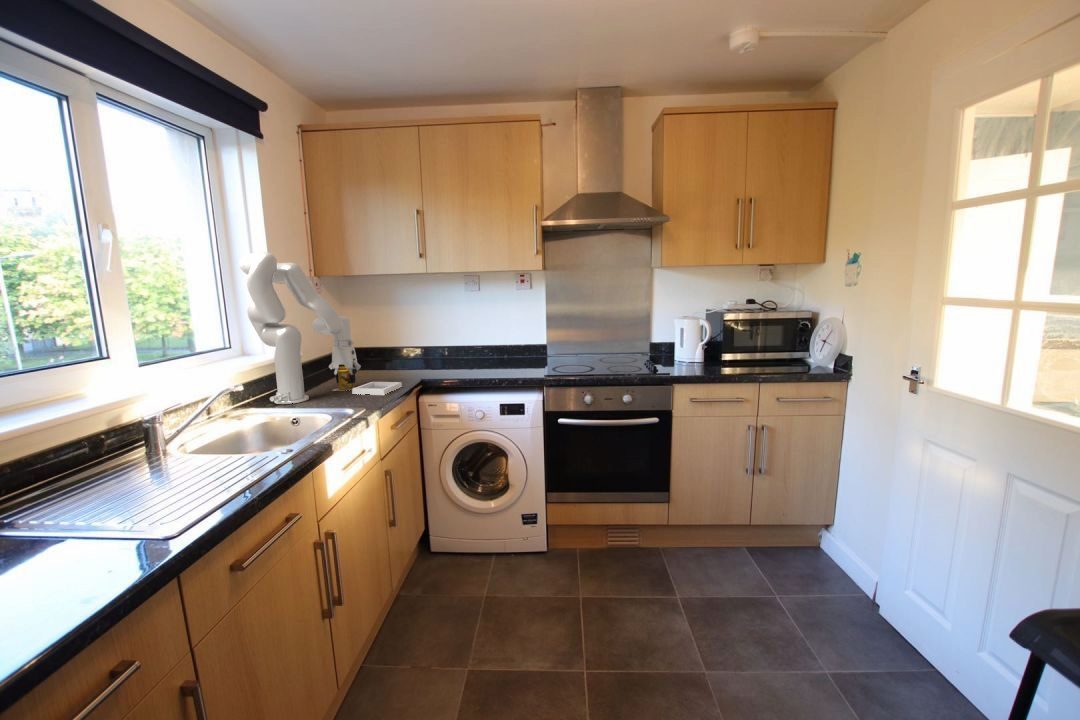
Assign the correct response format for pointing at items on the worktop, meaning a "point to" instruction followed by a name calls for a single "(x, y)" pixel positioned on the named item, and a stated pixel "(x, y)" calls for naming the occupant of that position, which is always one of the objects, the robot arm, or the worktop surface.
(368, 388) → the housing
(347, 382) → the condiment
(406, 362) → the worktop surface
